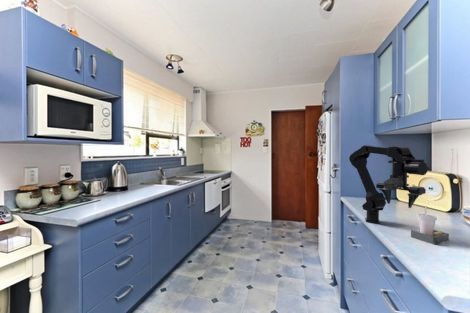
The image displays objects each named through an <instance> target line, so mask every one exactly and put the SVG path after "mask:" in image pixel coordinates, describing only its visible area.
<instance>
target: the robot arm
mask: <svg viewBox="0 0 470 313" xmlns="http://www.w3.org/2000/svg"><path fill="white" fill-rule="evenodd" d="M410 149H411V148H409V147H408V146H387V147H385V146H374V145H368V144H367V145H366V144H364V145H363V146H360V148H359V149H357V150H355V151H353V152H352V153H351V154H350V156H349V158H348V159H349V162H350V164H351V166H352V167H354V168H355V169H356V170H357V172H358V176H359V177H360V180H361V182H362V185H363V188H364V190H365V193H366V194H365V202H364V203H363V204H362V206H361V207H362V210H363V211H366V213H365V214H366V217H365V222H366V223H373V224H378V225H379V224H381V220H380V211H384V208H385V206H386V204H388V205H389V204H391V202H392V201H391V200H392V199H391V198H392V192H393V191H396V190H401V191H404V192H405V191H408V193H407V196H408V205H407V206H408V208H409V209H411V208H412V207H413V205H414V203H415V202H416V201H417V199H418V198H419V196H422V195H425V194H427V193H426V192H427V190H426V188H425V187H424V186H417V185H413V186H409V183H408V178H409V177H410V176H409V175H414V176H425V175H426V174H427V173H428V170H429V167H428V165H427V163H426V162H425V159H424V158H423V159H417V158H416V157H415V156H414V155H413V154H412V152H411V150H410ZM371 154H376V155H377V154H378V155H383V156H384V155H385V156H387V157H388V158H391V159H389V160H388V161H387V163H389V164H392V165H391V166H392V167H391V168H392V169H391V174H390V176H389V178H388V179H386V180H385V181H379V182H377V183H376V184H374V181H373V178H372V177H371V175H370V172H369V169H368V167H367V165H368V159H369V157H370V155H371ZM408 174H409V175H408ZM375 185H376V186H375ZM377 189H378V190H379V191H380V192H379V191H378V190H377Z"/></svg>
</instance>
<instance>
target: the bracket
mask: <svg viewBox="0 0 470 313" xmlns="http://www.w3.org/2000/svg"><path fill="white" fill-rule="evenodd" d="M449 237H450V234H449V233H447V232H444V231H442V230H437V229H436V230H435V229H434V231H433V236H431V235H427V234H424V233H421V232H420V231H418V230H417V231H416V230H413V229H411V230H410V238H413V239H417V240H420V241H422V242H426V243H429V244H432V245H435V246H437V245H439V244H443V243H447V242H449V239H450V238H449Z"/></svg>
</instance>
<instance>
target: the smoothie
mask: <svg viewBox="0 0 470 313" xmlns="http://www.w3.org/2000/svg"><path fill="white" fill-rule="evenodd" d="M427 208H428V206H426V205H425V206H424V213H418V214H417V218H418V225H419V232H421V233H424V234H427V235H431V236H433V231H434V230H435V227H436V226H435V225H436V221H437V220H438V219H437V216H435V215H431V214H427Z"/></svg>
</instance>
